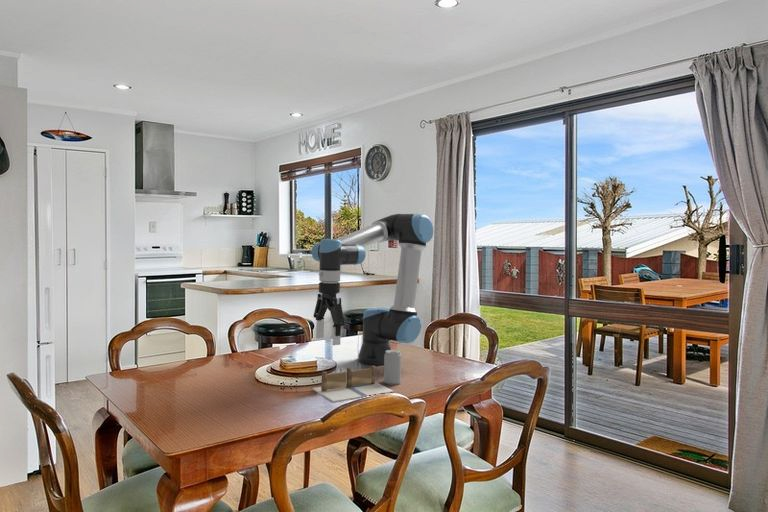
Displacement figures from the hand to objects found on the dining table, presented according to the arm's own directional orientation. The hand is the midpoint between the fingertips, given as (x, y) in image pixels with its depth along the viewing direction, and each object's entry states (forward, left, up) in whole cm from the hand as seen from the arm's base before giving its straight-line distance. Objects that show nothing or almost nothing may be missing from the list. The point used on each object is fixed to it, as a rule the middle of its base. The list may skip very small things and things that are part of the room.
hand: (327, 341), depth 195 cm
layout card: (+9, +6, -17) cm, 20 cm away
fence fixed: (+6, +11, -17) cm, 21 cm away
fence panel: (+6, 0, -16) cm, 17 cm away
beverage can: (+7, +24, -17) cm, 30 cm away
